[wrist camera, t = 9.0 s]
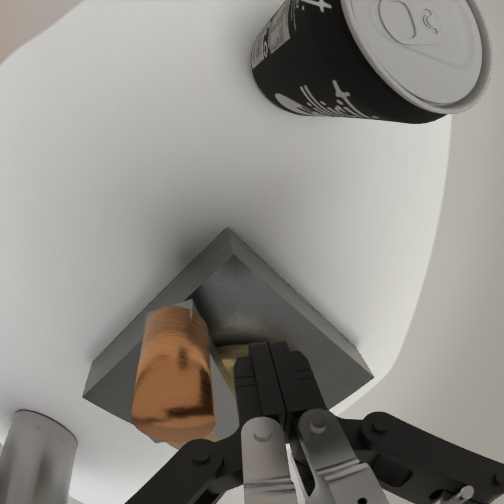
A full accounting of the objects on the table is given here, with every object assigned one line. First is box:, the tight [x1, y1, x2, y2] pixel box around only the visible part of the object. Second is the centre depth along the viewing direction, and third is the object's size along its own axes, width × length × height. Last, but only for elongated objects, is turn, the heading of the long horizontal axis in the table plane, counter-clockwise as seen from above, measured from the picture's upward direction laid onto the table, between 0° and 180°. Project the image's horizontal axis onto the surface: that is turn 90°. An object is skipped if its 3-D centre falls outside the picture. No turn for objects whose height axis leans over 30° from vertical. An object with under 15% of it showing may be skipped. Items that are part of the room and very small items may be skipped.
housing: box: [82, 227, 374, 425], centre depth 23 cm, size 17×17×4 cm
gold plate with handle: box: [131, 299, 249, 450], centre depth 16 cm, size 18×13×8 cm
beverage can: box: [251, 0, 493, 124], centre depth 11 cm, size 7×7×12 cm
